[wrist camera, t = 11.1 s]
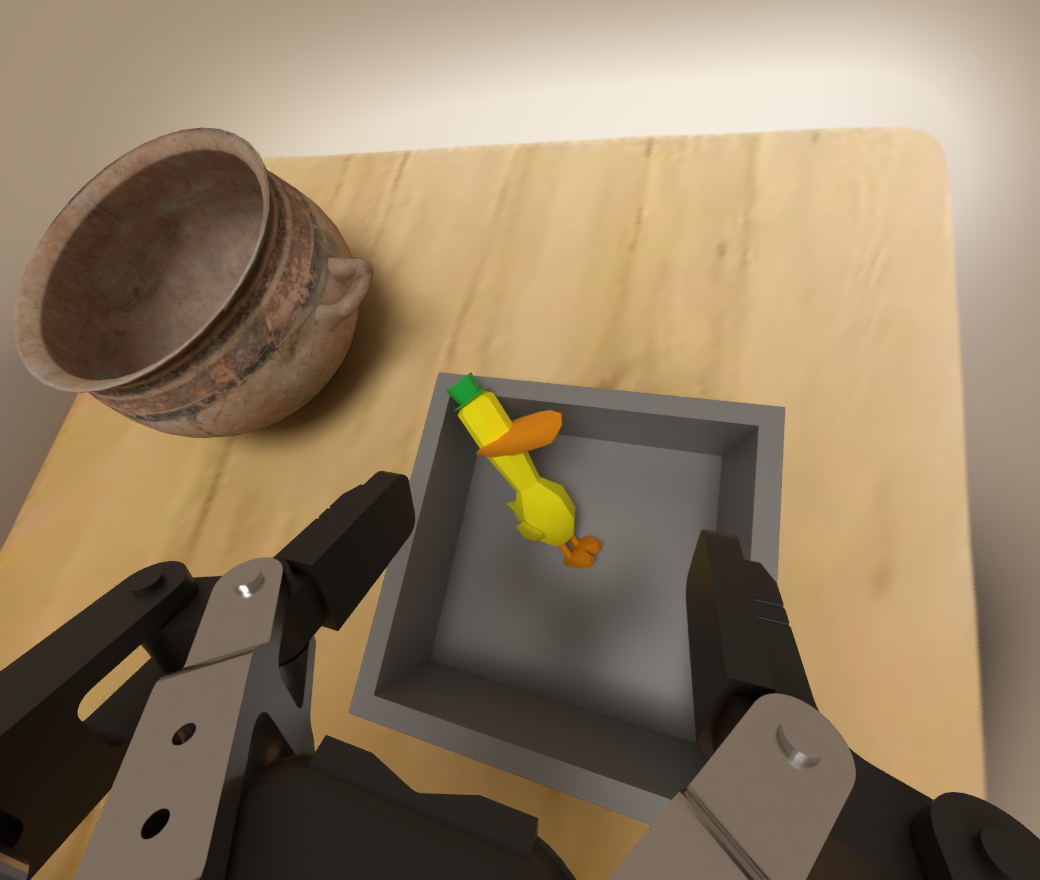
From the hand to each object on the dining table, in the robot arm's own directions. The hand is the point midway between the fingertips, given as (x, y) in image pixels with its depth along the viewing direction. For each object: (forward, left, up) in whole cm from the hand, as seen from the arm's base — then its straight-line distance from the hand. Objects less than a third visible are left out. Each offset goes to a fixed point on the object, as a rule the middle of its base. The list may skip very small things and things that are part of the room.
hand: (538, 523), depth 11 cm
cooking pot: (-26, +11, -15) cm, 32 cm away
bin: (0, -1, -15) cm, 15 cm away
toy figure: (+1, -1, -13) cm, 13 cm away
